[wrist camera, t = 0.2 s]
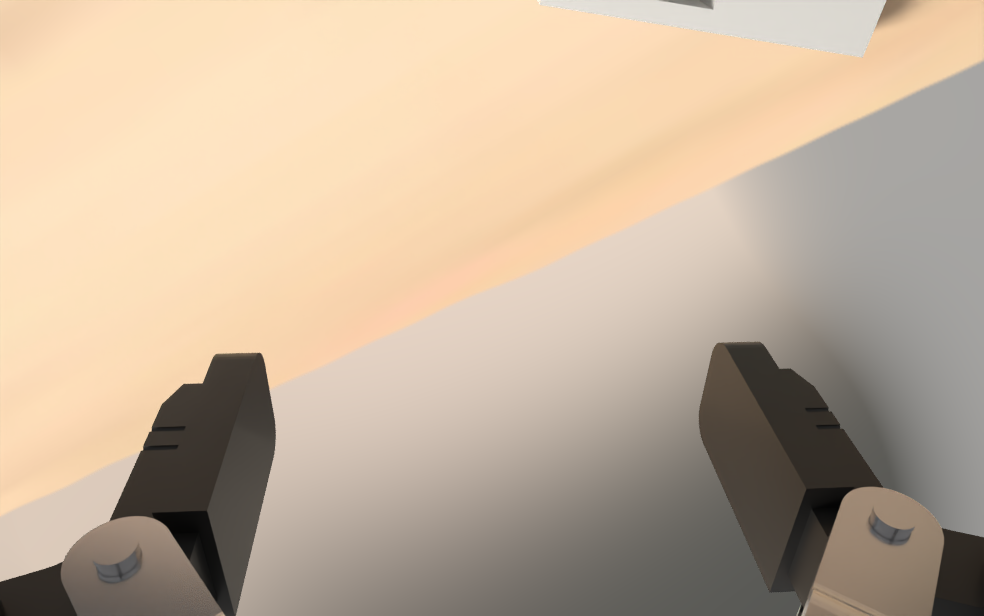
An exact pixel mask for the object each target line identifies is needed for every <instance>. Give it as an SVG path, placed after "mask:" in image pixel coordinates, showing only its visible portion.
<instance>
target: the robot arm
mask: <svg viewBox="0 0 984 616" xmlns="http://www.w3.org/2000/svg"><path fill="white" fill-rule="evenodd" d="M699 428H700V434H701V438H702V441H703V444H704V446H705V448H706V450H707V453H708V455H709V457H710V460H711V461H712V464H713V466H714V469H715V471H716V473H717V475H718V478H719V480H720V482H721V484H722V487H723V489H724V491H725V493H726V496H727V498H728V500H729V502H730V504H731V507H732V509H733V511H734V513H735V516H736V518H737V520H738V522H739V525H740V527H741V529H742V531H743V534H744V536H745V538H746V541H747V543H748V545H749V547H750V550H751V552H752V554H753V556H754V559H755V561H756V563H757V565H758V568H759V570H760V572H761V574H762V576H763V579H764V581H765V583H766V585H767V588H768V590H769V592H788V591H796V593H797V596H798V598H799V600H800V602H801V606H800V608H799V611H798V613H797V616H984V537H979V536H975V535H970V534H965V533H960V532H956V531H951V530H947V529H943V528H941V527H940V525H939V523H938V521H937V520H936V519H935V517H934V516H933V515H932V514H931V513H930V512H929V511H928V510H927V509H926V508H924V507H923V506H922V505H920V504H919V503H918V502H916V501H915V500H913V499H911V498H910V497H907V496H906V495H903V494H901V493H899V492H896V491H893V490H889V489H885V488H883V486H882V485H881V484H880V482H879V481H878V479H877V478H876V476H875V475H874V473H873V472H872V470H871V469H870V467H869V466H868V465H867V463H866V462H865V460H864V459H863V457H862V456H861V454H860V453H859V451H858V450H857V448H856V447H855V446H854V444H853V443H852V441H851V440H850V438H849V437H848V435H847V434H846V432H845V431H844V429H840V424H839V422H838V421H837V419H836V418H835V416H834V415H833V413H832V412H829V411H828V406H827V405H826V403H825V402H824V400H823V399H822V397H821V396H820V394H819V393H818V391H817V390H816V389H815V387H814V386H813V385H811V384H810V383H809V382H807V381H806V380H805V379H803V378H802V377H801V376H799V375H798V374H797V373H795V372H794V371H793V370H792V369H779V368H778V366H777V364H776V363H775V361H774V360H773V358H772V357H771V355H770V354H769V352H768V351H767V349H766V347H765V346H764V345H763V344H762V343H761V342H734V343H733V342H732V343H731V342H729V343H717V344H716V346H715V347H714V349H713V352H712V356H711V360H710V365H709V369H708V373H707V378H706V382H705V386H704V391H703V396H702V400H701V404H700V410H699ZM275 431H276V430H275V419H274V413H273V408H272V402H271V396H270V391H269V385H268V379H267V374H266V368H265V363H264V359H263V356H262V354H261V353H233V354H216V355H215V356H214V357H213V359H212V361H211V364H210V367H209V369H208V372H207V374H206V377H205V379H204V382H203V384H183V385H182V386H181V387H180V388H179V389H178V390H177V391H176V392H175V393H174V394H173V395H171V396H170V397H169V398H168V399H167V400H166V401H165V402H164V403H163V404H162V406H161V408H160V410H159V412H158V414H157V417H156V419H155V421H154V423H153V426H152V432H149V434H148V437H147V439H146V441H145V443H144V446H143V451H141V452H140V454H139V457H138V459H137V461H136V463H135V466H134V468H133V470H132V472H131V474H130V477H129V479H128V481H127V483H126V486H125V488H124V490H123V492H122V495H121V497H120V499H119V501H118V503H117V506H116V508H115V510H114V512H113V514H112V517H111V519H110V521H109V522H107V523H104V524H102V525H100V526H98V527H97V528H94V529H93V530H91V531H90V532H88V533H87V534H85V535H84V536H83V537H81V538H80V539H79V540H78V541H77V542H76V543H75V544H74V545H73V546H72V548H71V549H70V550H69V552H68V553H67V555H66V556H65V559H64V561H63V562H61V563H59V564H57V565H55V566H52V567H49V568H46V569H43V570H39V571H36V572H33V573H29V574H26V575H23V576H19V577H16V578H12V579H9V580H6V581H2V582H0V616H236V612H237V608H238V604H239V600H240V596H241V591H242V587H243V583H244V578H245V574H246V570H247V566H248V562H249V558H250V554H251V550H252V545H253V541H254V537H255V533H256V529H257V524H258V520H259V515H260V512H261V507H262V503H263V498H264V495H265V491H266V487H267V482H268V478H269V474H270V470H271V466H272V461H273V457H274V451H275V439H276V434H275V433H276V432H275Z"/></svg>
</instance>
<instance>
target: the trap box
mask: <svg viewBox="0 0 984 616" xmlns="http://www.w3.org/2000/svg"><path fill="white" fill-rule="evenodd" d="M537 1H538V3H539V4H540V5H544V6H550V7H556V8H562V9H569V10H575V11H581V12H587V13H593V14H599V15H605V16H612V17H618V18H624V19H630V20H636V21H642V22H648V23H654V24H661V25H667V26H673V27H679V28H685V29H691V30H697V31H703V32H710V33H716V34H722V35H728V36H734V37H740V38H746V39H752V40H759V41H765V42H771V43H777V44H783V45H789V46H795V47H801V48H808V49H814V50H820V51H826V52H832V53H838V54H844V55H850V56H857V57H863V55H864V53H865V51H866V48H867V46H868V43H869V41H870V39H871V36H872V34H873V31H874V29H875V27H876V24H877V22H878V19H879V17H880V15H881V12H882V10H883V7H884V5H885V3H886V0H537Z"/></svg>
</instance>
